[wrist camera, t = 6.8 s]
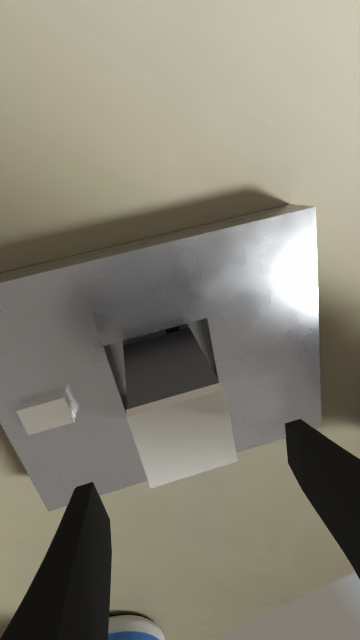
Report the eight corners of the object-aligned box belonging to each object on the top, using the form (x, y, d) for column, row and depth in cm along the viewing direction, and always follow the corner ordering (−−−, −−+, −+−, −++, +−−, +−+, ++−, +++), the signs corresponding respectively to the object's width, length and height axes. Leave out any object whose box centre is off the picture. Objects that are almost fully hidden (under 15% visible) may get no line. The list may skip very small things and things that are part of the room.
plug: (190, 326, 19) (224, 388, 13) (202, 383, 21) (237, 461, 15) (121, 345, 19) (126, 417, 13) (139, 401, 21) (150, 488, 15)
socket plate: (290, 204, 18) (322, 207, 15) (301, 403, 24) (327, 432, 21) (-44, 283, 16) (-76, 303, 14) (54, 477, 22) (46, 520, 19)
